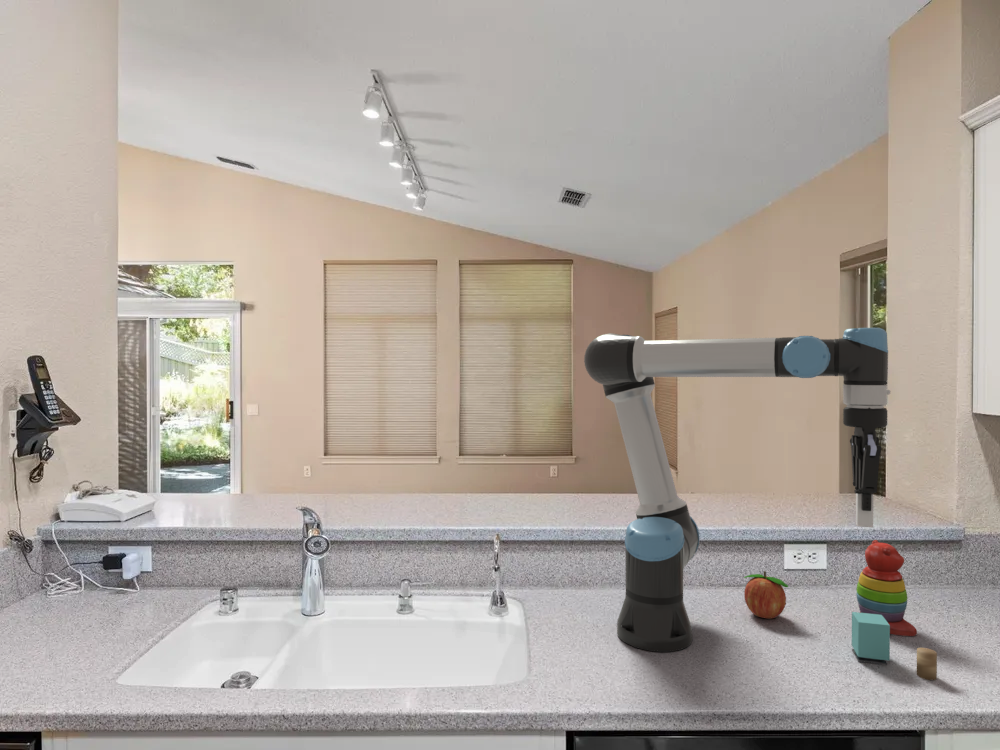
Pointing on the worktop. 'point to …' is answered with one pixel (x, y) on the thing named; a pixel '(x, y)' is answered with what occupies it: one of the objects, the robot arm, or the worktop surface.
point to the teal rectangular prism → (870, 636)
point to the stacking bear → (884, 588)
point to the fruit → (765, 595)
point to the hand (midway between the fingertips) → (864, 525)
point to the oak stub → (927, 663)
